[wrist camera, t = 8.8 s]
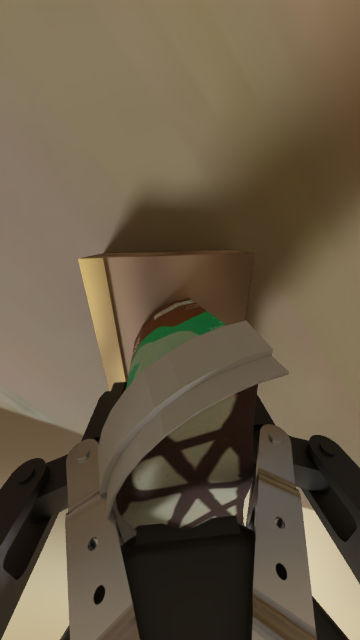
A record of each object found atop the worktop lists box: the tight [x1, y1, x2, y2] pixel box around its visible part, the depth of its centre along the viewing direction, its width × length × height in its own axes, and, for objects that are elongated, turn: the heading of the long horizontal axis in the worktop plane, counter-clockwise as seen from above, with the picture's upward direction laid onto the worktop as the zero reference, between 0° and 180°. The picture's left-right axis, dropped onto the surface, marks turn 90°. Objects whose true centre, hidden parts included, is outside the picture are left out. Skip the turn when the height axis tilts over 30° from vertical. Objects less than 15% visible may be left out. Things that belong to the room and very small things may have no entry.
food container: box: [98, 298, 289, 545], centre depth 11 cm, size 12×6×10 cm, turn 5°
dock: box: [78, 250, 254, 391], centre depth 18 cm, size 12×16×5 cm
